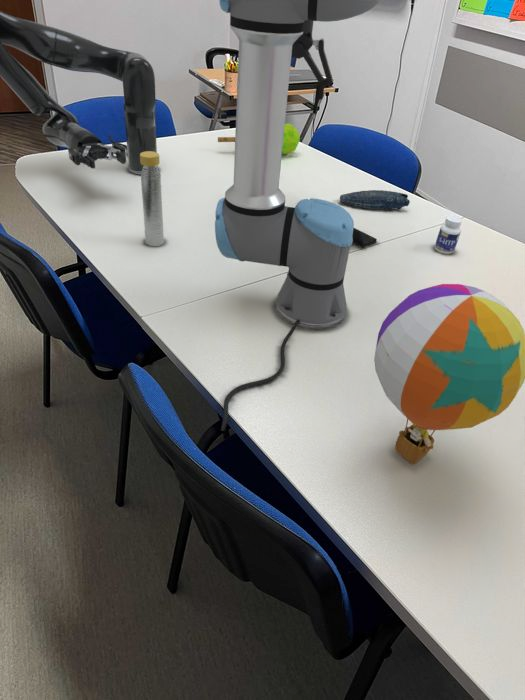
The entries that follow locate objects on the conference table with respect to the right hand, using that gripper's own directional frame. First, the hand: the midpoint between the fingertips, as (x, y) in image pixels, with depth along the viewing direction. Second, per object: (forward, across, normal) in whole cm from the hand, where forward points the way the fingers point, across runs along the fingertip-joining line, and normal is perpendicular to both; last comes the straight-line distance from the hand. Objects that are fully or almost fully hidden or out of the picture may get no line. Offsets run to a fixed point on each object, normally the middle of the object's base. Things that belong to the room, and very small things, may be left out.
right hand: (288, 109), depth 135 cm
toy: (+28, -32, +86) cm, 96 cm away
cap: (+6, +28, +29) cm, 41 cm away
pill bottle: (+28, -47, +11) cm, 56 cm away
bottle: (+28, +28, +29) cm, 49 cm away
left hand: (+15, +44, +14) cm, 49 cm away
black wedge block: (+28, -21, +12) cm, 37 cm away
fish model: (+28, -28, -13) cm, 41 cm away
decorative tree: (+28, +14, -48) cm, 57 cm away
